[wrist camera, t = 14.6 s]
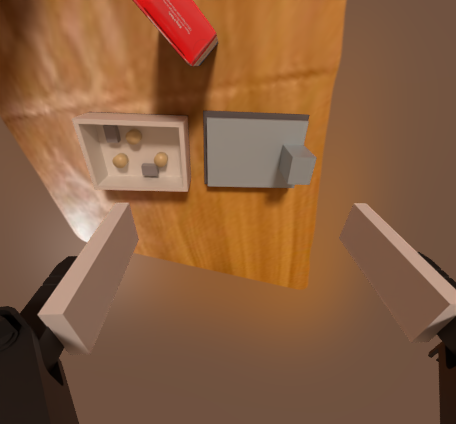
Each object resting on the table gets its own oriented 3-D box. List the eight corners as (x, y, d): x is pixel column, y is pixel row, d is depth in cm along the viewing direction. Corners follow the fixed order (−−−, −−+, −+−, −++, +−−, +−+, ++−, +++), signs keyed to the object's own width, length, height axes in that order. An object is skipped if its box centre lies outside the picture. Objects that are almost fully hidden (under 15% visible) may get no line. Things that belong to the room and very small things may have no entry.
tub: (107, 176, 48) (94, 189, 43) (89, 111, 41) (71, 118, 36) (191, 178, 49) (187, 191, 44) (187, 115, 42) (183, 122, 37)
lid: (208, 181, 49) (206, 203, 41) (207, 115, 42) (204, 127, 34) (291, 183, 50) (303, 204, 42) (304, 119, 42) (323, 131, 35)
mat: (204, 183, 50) (204, 183, 49) (203, 110, 41) (203, 110, 41) (292, 185, 51) (293, 186, 50) (308, 114, 42) (309, 115, 42)
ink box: (219, 42, 36) (218, 30, 24) (198, 67, 38) (188, 68, 26) (178, -12, 32) (153, -58, 20) (157, 19, 34) (122, -7, 22)
